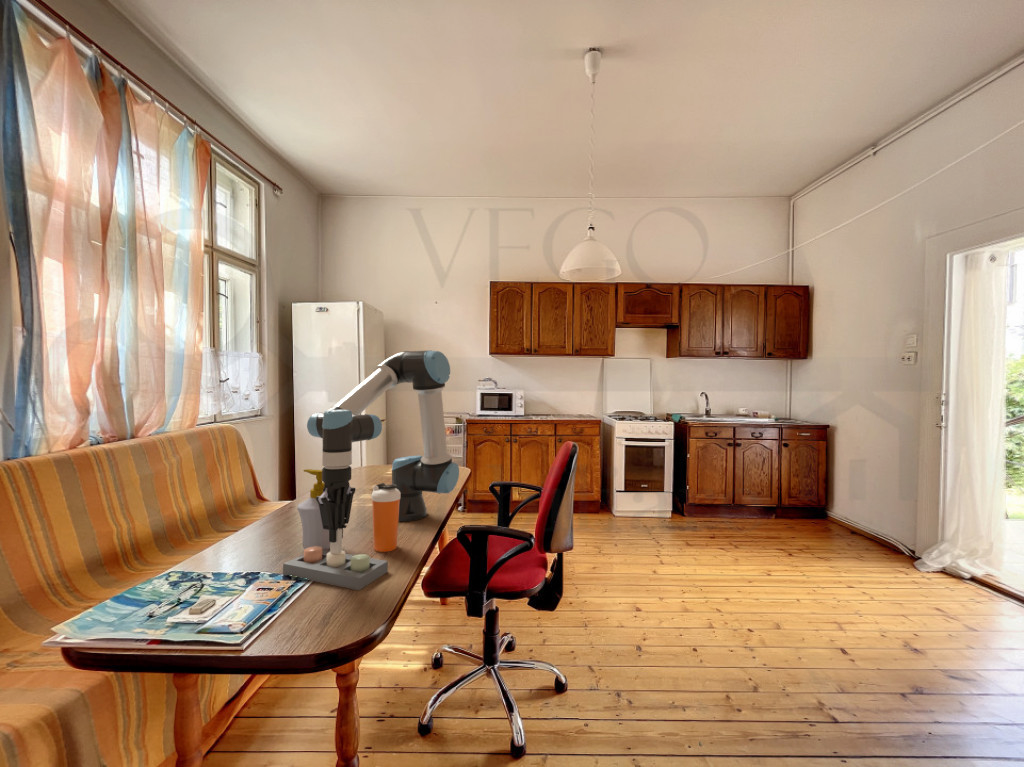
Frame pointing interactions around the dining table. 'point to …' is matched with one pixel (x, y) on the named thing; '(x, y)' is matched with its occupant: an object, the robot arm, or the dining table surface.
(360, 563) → the pale green rounded knob
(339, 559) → the cream egg
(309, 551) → the brown egg
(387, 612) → the dining table surface
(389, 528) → the shaker bottle
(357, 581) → the panel
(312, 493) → the soap bottle
